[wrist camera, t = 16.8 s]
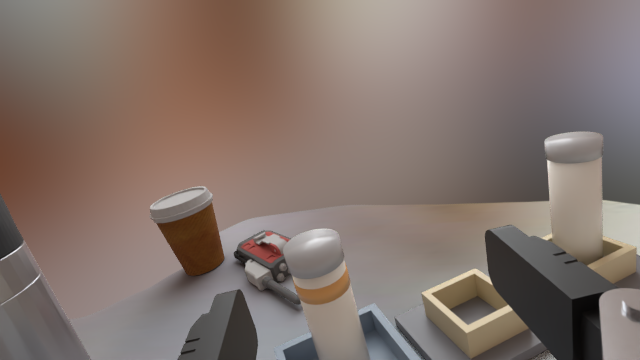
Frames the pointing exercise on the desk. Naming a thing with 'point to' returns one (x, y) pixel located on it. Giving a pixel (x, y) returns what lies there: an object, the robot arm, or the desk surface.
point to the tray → (381, 338)
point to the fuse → (576, 193)
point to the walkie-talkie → (266, 262)
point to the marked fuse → (326, 294)
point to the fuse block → (493, 313)
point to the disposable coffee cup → (190, 228)
